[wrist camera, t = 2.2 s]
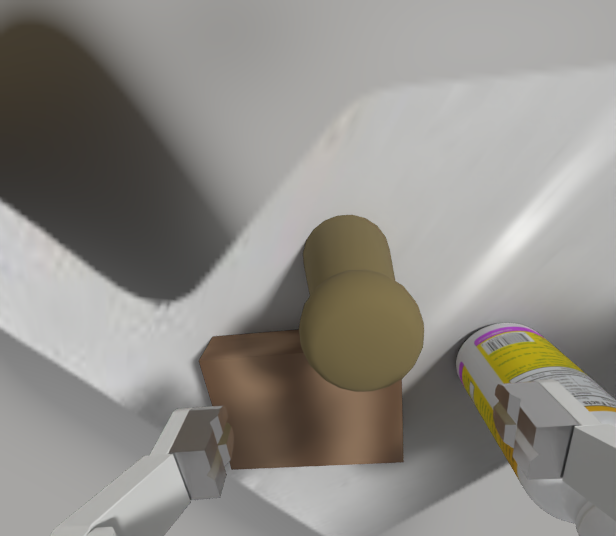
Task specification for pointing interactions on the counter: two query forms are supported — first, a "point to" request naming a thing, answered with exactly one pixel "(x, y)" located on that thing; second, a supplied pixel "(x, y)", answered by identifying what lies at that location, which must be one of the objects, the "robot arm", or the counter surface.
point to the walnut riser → (296, 407)
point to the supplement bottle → (522, 368)
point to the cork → (357, 308)
